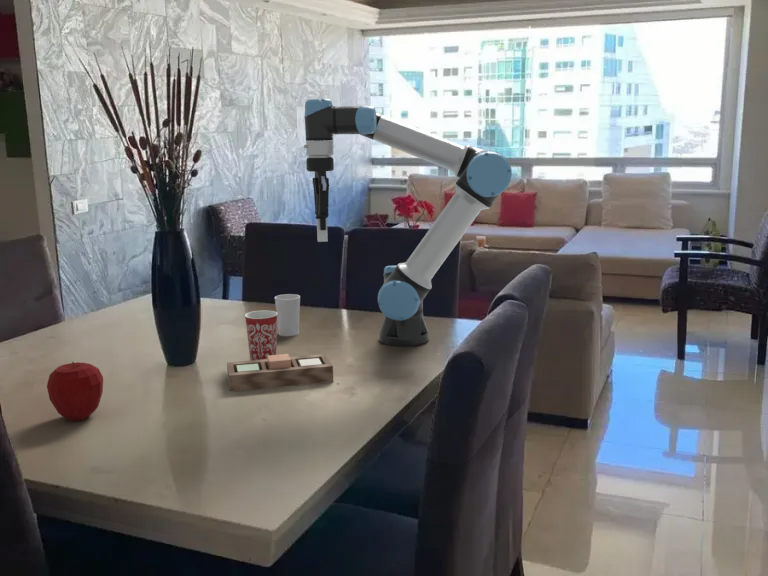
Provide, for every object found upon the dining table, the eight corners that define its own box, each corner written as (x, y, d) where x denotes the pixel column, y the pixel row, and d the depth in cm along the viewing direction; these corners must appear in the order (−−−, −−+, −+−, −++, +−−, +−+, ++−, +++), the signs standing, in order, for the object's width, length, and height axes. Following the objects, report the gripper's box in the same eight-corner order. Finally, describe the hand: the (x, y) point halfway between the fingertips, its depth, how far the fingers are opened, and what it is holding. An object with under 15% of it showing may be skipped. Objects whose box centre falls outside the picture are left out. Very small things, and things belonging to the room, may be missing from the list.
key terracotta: (288, 366, 196) (288, 353, 195) (291, 373, 190) (290, 359, 190) (268, 368, 194) (267, 355, 194) (270, 375, 189) (269, 361, 188)
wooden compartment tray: (325, 368, 201) (325, 354, 200) (333, 381, 191) (332, 366, 190) (227, 378, 195) (226, 362, 194) (229, 391, 184) (228, 375, 184)
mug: (276, 365, 205) (274, 317, 202) (244, 365, 205) (241, 318, 203) (284, 352, 217) (282, 307, 215) (253, 352, 218) (251, 307, 215)
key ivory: (319, 371, 198) (318, 358, 197) (322, 377, 193) (322, 364, 192) (298, 373, 197) (298, 359, 196) (301, 379, 191) (301, 365, 191)
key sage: (258, 376, 194) (257, 363, 193) (260, 383, 189) (259, 369, 188) (237, 378, 193) (236, 365, 192) (238, 385, 188) (237, 371, 187)
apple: (115, 417, 169) (110, 360, 166) (63, 431, 161) (57, 373, 158) (93, 404, 177) (87, 350, 175) (42, 417, 169) (36, 361, 167)
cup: (297, 337, 233) (296, 299, 231) (273, 336, 234) (271, 299, 232) (304, 330, 241) (302, 294, 238) (280, 330, 242) (278, 293, 239)
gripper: (302, 156, 211) (306, 238, 216) (310, 157, 199) (313, 245, 204) (329, 155, 213) (331, 237, 218) (337, 157, 201) (340, 243, 206)
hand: (322, 241), depth 211 cm, fingers closed
